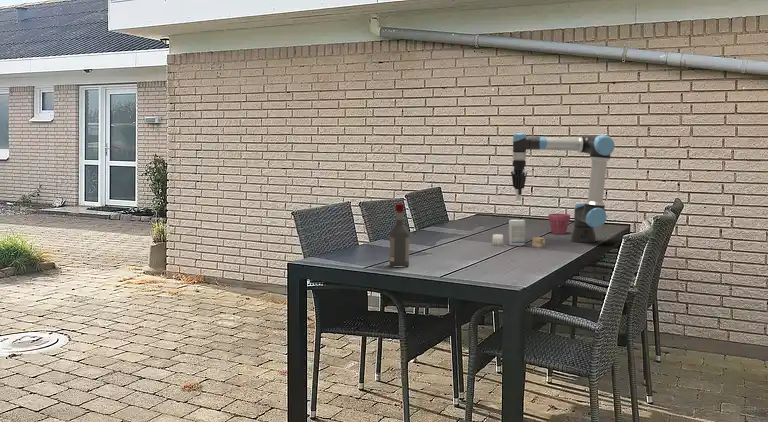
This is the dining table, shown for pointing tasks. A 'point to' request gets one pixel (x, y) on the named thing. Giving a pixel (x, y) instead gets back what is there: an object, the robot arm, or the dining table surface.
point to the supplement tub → (517, 232)
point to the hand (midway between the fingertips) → (518, 200)
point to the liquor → (399, 241)
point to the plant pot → (559, 223)
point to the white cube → (498, 239)
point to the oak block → (538, 242)
